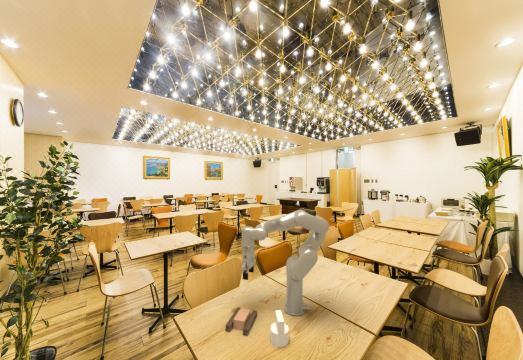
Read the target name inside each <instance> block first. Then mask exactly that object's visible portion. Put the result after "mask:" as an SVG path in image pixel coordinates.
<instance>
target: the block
mask: <svg viewBox="0 0 523 360" xmlns="http://www.w3.org/2000/svg"><path fill="white" fill-rule="evenodd" d="M239 308H240V310H239V311H238V313H237V314H236V316H235V318H234V319H233V328H232V329H235V330H239V331H243V328H244V326H245V324H246V323H247V321H248V319H249V317H250V315H251V309H248V308H247V309H246V308H242V307H239Z"/></svg>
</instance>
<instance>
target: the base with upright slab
mask: <svg viewBox="0 0 523 360" xmlns="http://www.w3.org/2000/svg"><path fill="white" fill-rule="evenodd" d="M274 314H275V315H274V319H275V320H274V322H273V323H272V324H271V325H270V331H269V332H270V333H269V335H270V337H269V338H270V343H271V344H272V345H273V346H274V347H276V348H284V347H286V346H287V345H288V344H289V342H290V339H289V338H290V335H289V334H290V332H289V331H290V329H289V325H287V323H285V318H284V316H283V313H282V310H281V309H276V310H275V312H274Z"/></svg>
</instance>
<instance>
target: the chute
mask: <svg viewBox="0 0 523 360" xmlns="http://www.w3.org/2000/svg"><path fill="white" fill-rule="evenodd" d="M240 308H241V307H238V306H237V307H236V309H235V310H234V312H233V314H232V315H231V317H230V318H229V320H228V321H227V322H226V324H225V332H228V333H231V331H232V329H234V328H233V319H234V318H235V316H236V314H237V313H238V311H239V310H240ZM257 317H258V310H255V309H253V310H251V312H250V317H249V319H248V321H247V323H246V324H245V326H244V328H243V330H242V336H246V337H248V336H249V334H250V333H251V330H252V328H253V325H255V322H256V319H257Z"/></svg>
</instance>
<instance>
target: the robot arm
mask: <svg viewBox="0 0 523 360" xmlns="http://www.w3.org/2000/svg"><path fill="white" fill-rule="evenodd" d="M298 226H299V227H301V228H304V229H305V230H307V231H311V232H310V234H309V235H308V236H307V238H306V240H305V241H304V242H302V244H301V245H300V246H299V248H298V256H296V255H292V256H289V257H288V258H287V260H286V263H285V266H286V267H285V269H286V303H285V304H284V305H283V310H284V312H285V313H286V314H288V315H290V316H294V317H295V316H296V317H299V316H302V315H304V314H305V313H306V311H311V306H309V304H307V303H304V300H303V291H304V290H303V285H304V284H303V280H304V278H305V277H306V276H307V275H308V274H309V273H310V272H311V270H312V269H313V268H314V267H315V265H316V264H317V262H318V258H319V257H318V252H317V251H318V250H319V248H320V247H321V246H322V245H323V243H324V241H325V238H326V234H327V233H328V231H329V230H330V224H329V222H328V221H327V220H326V219H325V218H323V217H322V216H320V215H312V214H310V213H308V212H306V211H305V210H304V209H297V210H294V211H293V212H290V213H287V214H285V215H282V216H279V217H277V218H273V219H268V220H265V221H263V222H261V223H260V224H257V225H256V226H255V227H253V226H249V225H247V226H243V227H242V228H241V251H242V256H241V257H242V258H241V260H242V261H241V263H242V264H241V265H242V266H241V271H242V272H241V273H242V279H243V280H244V281H245V280H246V281H248V280H249V273H252V274H253V273H254V271H255V270H254V269H255V267H254V266H255V264H256V256H255V255H256V254H255V241H265V240H266V238H267V235H268V234H271V233H272V232H276V231H277V232H279V231H281V232H285V231H288V230H291V229H293V228H296V227H298Z"/></svg>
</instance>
